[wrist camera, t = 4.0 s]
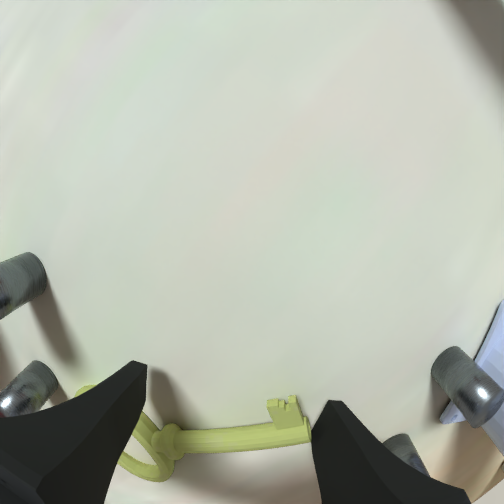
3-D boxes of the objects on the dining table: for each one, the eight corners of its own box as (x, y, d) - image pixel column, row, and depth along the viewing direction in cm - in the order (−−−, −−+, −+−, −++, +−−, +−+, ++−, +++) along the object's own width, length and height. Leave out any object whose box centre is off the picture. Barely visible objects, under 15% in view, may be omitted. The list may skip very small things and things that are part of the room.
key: (320, 406, 12) (329, 438, 9) (146, 472, 13) (137, 496, 11) (220, 290, 10) (212, 315, 8) (59, 398, 12) (42, 420, 10)
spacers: (467, 347, 11) (512, 388, 7) (398, 453, 12) (419, 498, 9) (17, 247, 10) (-45, 271, 6) (34, 381, 11) (-2, 421, 7)
